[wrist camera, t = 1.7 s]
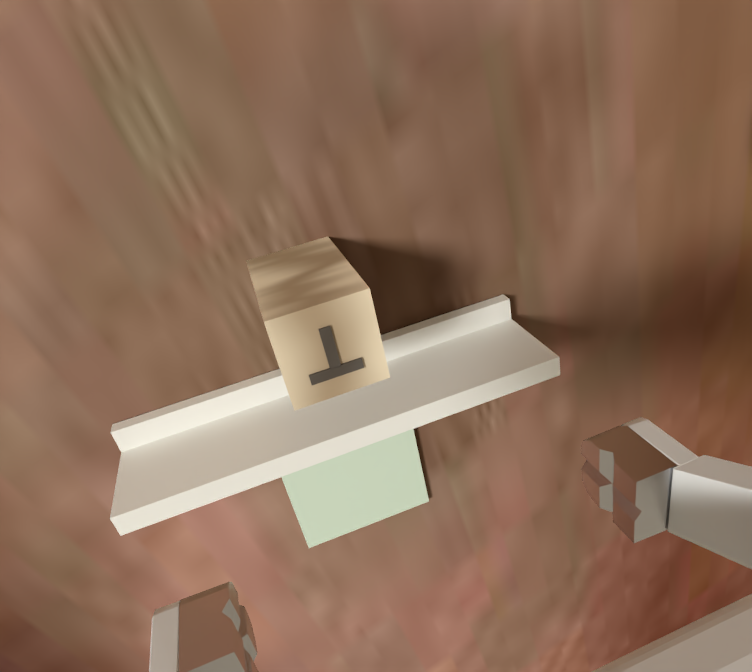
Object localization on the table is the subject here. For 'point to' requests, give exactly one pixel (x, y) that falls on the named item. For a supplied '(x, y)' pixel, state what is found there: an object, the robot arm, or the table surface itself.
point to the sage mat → (357, 488)
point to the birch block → (318, 321)
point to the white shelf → (318, 414)
